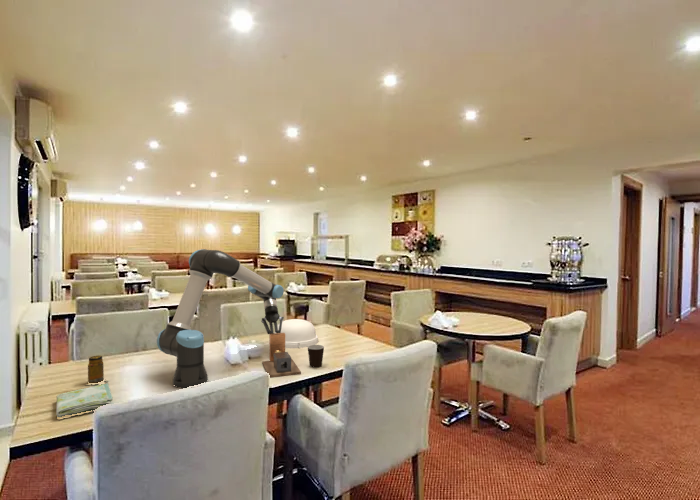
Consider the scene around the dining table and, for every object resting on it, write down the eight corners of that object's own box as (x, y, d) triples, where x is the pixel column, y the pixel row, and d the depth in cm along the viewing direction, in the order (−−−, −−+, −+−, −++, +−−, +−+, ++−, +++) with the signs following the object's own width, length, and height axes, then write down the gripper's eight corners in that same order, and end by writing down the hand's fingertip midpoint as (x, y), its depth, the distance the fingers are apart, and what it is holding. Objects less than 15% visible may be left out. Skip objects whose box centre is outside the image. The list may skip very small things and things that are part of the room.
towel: (55, 422, 144) (55, 409, 144) (56, 402, 162) (56, 390, 162) (113, 410, 155) (113, 397, 155) (108, 392, 172) (108, 381, 172)
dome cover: (269, 337, 267) (269, 316, 266) (313, 334, 275) (313, 314, 275) (274, 350, 236) (274, 327, 236) (323, 347, 245) (323, 324, 244)
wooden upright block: (274, 368, 199) (274, 341, 198) (269, 359, 214) (269, 333, 213) (290, 367, 201) (290, 340, 201) (284, 357, 216) (284, 332, 216)
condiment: (92, 380, 186) (92, 354, 185) (111, 379, 187) (111, 354, 186) (83, 386, 178) (83, 359, 178) (103, 385, 179) (103, 359, 179)
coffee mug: (321, 369, 204) (321, 349, 203) (305, 367, 206) (305, 348, 205) (327, 362, 215) (327, 343, 215) (311, 360, 217) (312, 342, 217)
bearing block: (277, 372, 194) (277, 358, 194) (273, 366, 203) (273, 353, 203) (291, 371, 197) (291, 357, 196) (287, 365, 206) (287, 351, 206)
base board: (268, 377, 191) (268, 375, 191) (262, 363, 211) (262, 361, 211) (301, 374, 196) (301, 371, 196) (291, 360, 217) (291, 358, 217)
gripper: (281, 311, 239) (286, 346, 224) (259, 312, 235) (263, 348, 220) (282, 304, 234) (288, 339, 219) (260, 305, 229) (264, 341, 214)
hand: (276, 343), depth 219 cm, fingers closed
